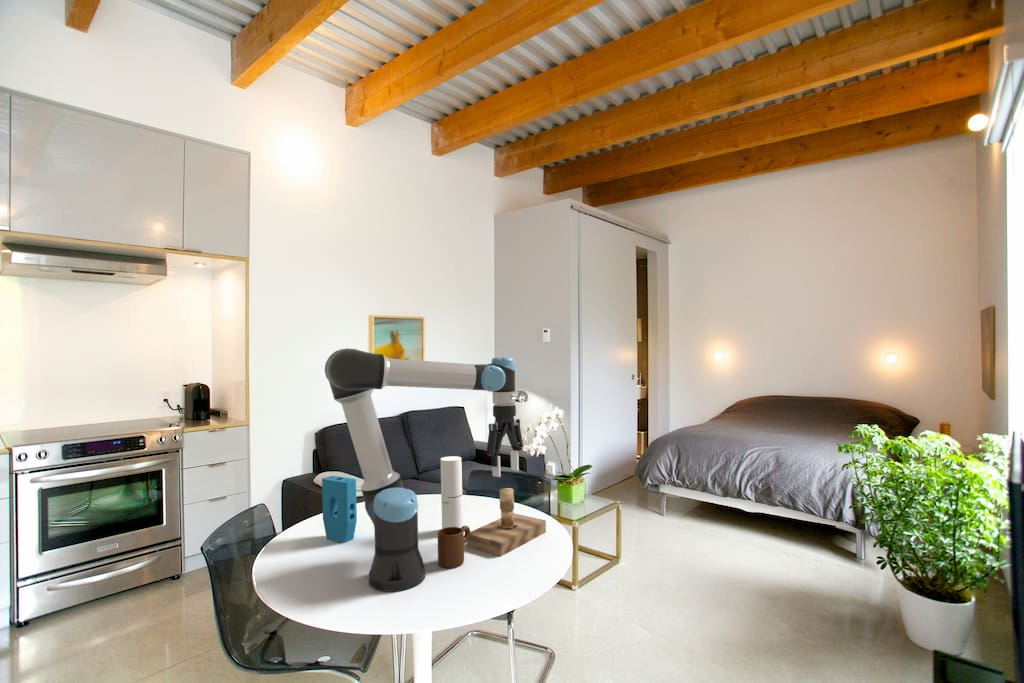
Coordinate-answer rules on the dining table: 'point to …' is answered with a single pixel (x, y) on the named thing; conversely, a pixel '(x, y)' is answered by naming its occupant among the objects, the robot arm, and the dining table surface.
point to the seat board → (506, 535)
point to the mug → (452, 546)
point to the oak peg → (507, 508)
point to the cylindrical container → (451, 492)
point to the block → (339, 508)
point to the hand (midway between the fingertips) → (505, 473)
